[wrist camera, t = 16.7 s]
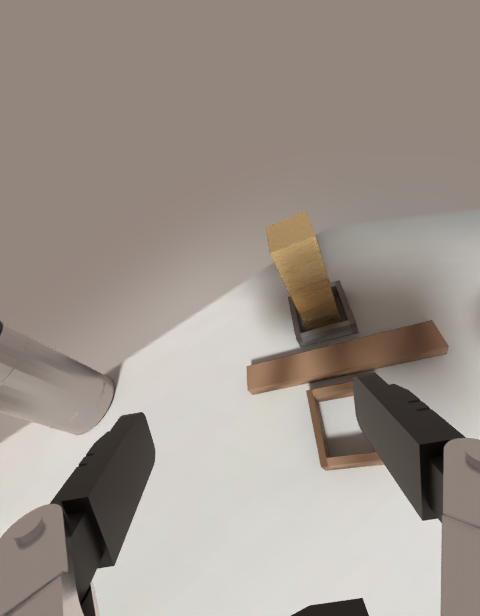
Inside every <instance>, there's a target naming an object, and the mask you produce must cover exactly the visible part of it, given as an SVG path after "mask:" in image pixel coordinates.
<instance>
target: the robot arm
mask: <svg viewBox="0 0 480 616" xmlns="http://www.w3.org/2000/svg"><path fill="white" fill-rule="evenodd" d="M353 391H354V401H355V411H356V417H357V421H358V424H359V426H360V428H361V430H362V432H363V434H364V435H365V437H366V438H367V439H368V441H369V442H370V444H371V445H372V447H373V448H374V450H375V451H376V453H377V454H378V456H379V457H380V459H381V460H382V462H383V463H384V465H385V466H386V467H387V469H388V470H389V472H390V473H391V475H392V476H393V478H394V479H395V481H396V482H397V484H398V485H399V487H400V488H401V490H402V491H403V493H404V494H405V496H406V497H407V498H408V500H409V501H410V503H411V504H412V506H413V507H414V509H415V510H416V512H417V513H418V515H419V516H420V518H421V519H422V521H424V520H430V519H437V518H438V519H439V520H440V521H441V523H442V558H441V616H480V440H478V439H472V438H466V437H464V436H463V435H462V434H461V433H460V432H458V431H457V430H456V429H455V428H454V427H452V426H451V425H450V424H449V423H448V422H446V421H445V420H444V419H443V418H442V417H440V416H439V415H438V414H437V413H436V412H434V411H433V410H432V409H431V410H430V408H429V407H428V406H427V405H426V404H425V403H423V402H421V401H420V399H419V398H417V397H416V396H415V395H414V394H413V393H411V392H410V391H409V390H407V389H404V388H402V387H400V386H398V385H395V384H391V385H388V384H387V383H386V382H385V381H384V380H383V379H382V378H380V377H379V376H378V375H377V374H376V373H371V374H365V375H359V376H354V377H353ZM113 393H114V385H113V382H112V380H111V379H110V378H109V377H107V376H105V375H103V374H101V373H99V372H97V371H95V370H93V369H91V368H89V367H87V366H86V365H83V364H82V363H80V362H78V361H76V360H74V359H72V358H70V357H68V356H66V355H64V354H62V353H61V352H59V351H57V350H55V349H53V348H51V347H49V346H47V345H45V344H43V343H41V342H39V341H37V340H35V339H34V338H32V337H29V336H28V335H26V334H24V333H22V332H20V331H18V330H16V329H14V328H12V327H10V326H8V325H6V324H4V323H2V322H1V321H0V412H1V413H4V414H7V415H11V416H14V417H17V418H21V419H24V420H28V421H31V422H34V423H38V424H41V425H45V426H48V427H51V428H54V429H58V430H61V431H65V432H68V433H71V434H76V435H79V434H83V433H85V432H87V431H89V430H90V429H92V428H93V427H94V426H95V425H96V424H97V423H98V422H99V421H100V420H101V419H102V417H103V416H104V414H105V413H106V411H107V410H108V408H109V406H110V403H111V401H112V398H113ZM154 462H155V447H154V443H153V440H152V436H151V433H150V430H149V426H148V423H147V420H146V417H145V415H144V413H142V412H140V413H134V414H128V415H123V416H121V417H120V418H119V419H118V421H117V422H116V423H115V425H114V426H113V428H112V429H111V431H110V432H107V433H106V434H105V435H103V436H102V437H101V438H100V439H99V440H98V441H96V442H95V443H94V445H93V446H92V447H91V449H90V450H89V451H88V453H87V454H86V457H84V458H83V460H82V461H81V462H80V464H79V467H77V468H76V469H75V470H74V472H73V473H72V474H71V476H70V477H69V478H68V480H67V481H66V482H65V484H64V485H63V487H62V488H61V489H60V491H59V492H58V493H57V495H56V496H55V497H54V499H53V500H52V501H51V503H50V504H48V505H44V506H41V507H39V508H37V509H35V510H33V511H31V512H29V513H28V514H26V515H25V516H23V517H22V518H20V519H19V520H18V521H17V522H15V523H14V524H13V525H12V526H11V527H10V528H9V529H8V530H7V531H6V532H5V533H4V534H3V536H2V537H1V538H0V616H99V611H98V605H97V599H96V594H95V588H94V585H93V583H92V579H93V576H94V574H95V572H96V570H97V568H103V567H109V566H114V565H115V563H116V560H117V558H118V555H119V552H120V550H121V547H122V545H123V542H124V540H125V537H126V535H127V532H128V529H129V527H130V524H131V522H132V519H133V517H134V514H135V512H136V509H137V506H138V504H139V501H140V499H141V496H142V494H143V491H144V489H145V486H146V484H147V481H148V478H149V476H150V473H151V471H152V468H153V466H154ZM291 616H369V615H368V612H367V609H366V607H365V604H364V601H363V598H359V599H352V600H345V601H338V602H331V603H324V604H317V605H310V606H308V607H306V608H304V609H302V610H301V611H299V612H297V613H295V614H293V615H291Z"/></svg>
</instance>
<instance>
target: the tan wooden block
mask: <svg viewBox="0 0 480 616" xmlns="http://www.w3.org/2000/svg"><path fill="white" fill-rule="evenodd" d="M266 231H267V237H268V244H269V251H270V254H271V256H272V259H273V261H274V263H275V265H276V267H277V269H278V271H279V273H280V275H281V277H282V279H283V281H284V283H285V286H286V288H287V290H288V292H289V294H290V296H291V298H292V300H293V302H294V304H295V306H296V308H297V310H298V313H299V315H300V317H301V319H302V321H303V323H304V325H305V327H306V329H307V331H311V330H314V329H318V328H322V327H325V326H329V325H333V324H336V323H340V322H341V320H340V316H339V313H338V310H337V306H336V303H335V300H334V296H333V293H332V290H331V286H330V283H329V280H328V276H327V273H326V270H325V266H324V263H323V260H322V256H321V253H320V249H319V246H318V243H317V239H316V236H315V233H314V231H313V228H312V225H311V222H310V219H309V217H308V214H307V211H305V212H302V213H300V214H297V215H295V216H293V217H290V218H288V219H285V220H283V221H281V222H278V223H276V224H274V225H271V226H269V227H267V228H266Z"/></svg>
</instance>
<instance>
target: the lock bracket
mask: <svg viewBox="0 0 480 616" xmlns="http://www.w3.org/2000/svg"><path fill="white" fill-rule="evenodd" d="M330 286H331V290H332V293H333V296H334V297H335V296H338V295H339V298H340V301H341V304H342V306H343V309H344V312H345V314H346V317H347V321H344V322H340V323H336V324H333V325H329V326H325V327H322V328H318V329H314V330H311V331H307V332H303V331H302V327H301V322H300V318H299V313H298V310H297V308H296V306H295V304H294V302H293V300H292V298H291V296H290V297H288V299H289V304H290V309H291V315H292V320H293V325H294V330H295V335H296V339H297V341H298V343H299V345H300V347H303V346H307V345H311V344H315V343H319V342H323V341H327V340H331V339H334V338H338V337H342V336H346V335H350V334H354V333H358V330H357V326H356V322H355V319H354V317H353V314H352V312H351V309H350V307H349V304H348V301H347V299H346V296H345V294H344V291H343V289H342V286H341V284H340V281H336V282H333V283H330ZM447 350H448V345H447V343H446V342H445V340H444V339H443V337H442V335H441V334H440V332H439V331H438V329H437V327H436V326H435V324H434V323H433V321H432V320H431V321H427V322H423V323H419V324H415V325H411V326H407V327H403V328H399V329H395V330H391V331H387V332H383V333H379V334H375V335H371V336H367V337H363V338H359V339H355V340H351V341H347V342H343V343H339V344H335V345H331V346H327V347H323V348H318V349H314V350H310V351H306V352H302V353H298V354H294V355H290V356H286V357H282V358H278V359H274V360H270V361H266V362H262V363H258V364H254V365H250V366H247V386H248V391H249V392H250V393H252V394H253V395H254V394H259V393H263V392H268V391H273V390H277V389H282V388H287V387H292V386H296V385H301V384H306V383H311V382H315V381H320V380H325V379H330V378H334V377H339V376H344V375H349V374H353V373H358V372H363V371H368V370H372V369H377V368H382V367H386V366H391V365H396V364H401V363H405V362H410V361H415V360H420V359H424V358H429V357H434V356H439V355H443V354H447ZM306 392H307V397H308V402H309V407H310V412H311V417H312V423H313V428H314V433H315V438H316V443H317V448H318V453H319V459H320V464H321V467H322V468H323V469H325V470H336V469H345V468H355V467H364V466H374V465H383V464H384V463H383V462H382V460H381V459H380V457H379V456H378V454H377V453H376V452H372V453H364V454H355V455H347V456H339V457H330V455H329V451H328V446H327V442H326V437H325V432H324V428H323V423H322V419H321V414H320V409H319V405H318V402H322V401H327V400H332V399H338V398H343V397H348V396H354V391H353V381H352V382H347V383H342V384H337V385H332V386H327V387H322V388H317V389H313V390H308V391H306Z"/></svg>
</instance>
